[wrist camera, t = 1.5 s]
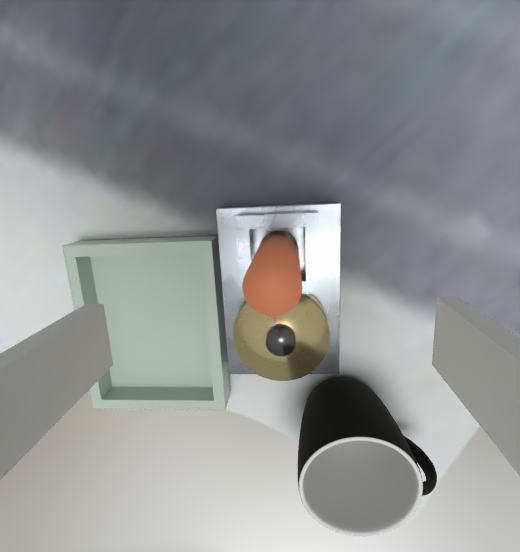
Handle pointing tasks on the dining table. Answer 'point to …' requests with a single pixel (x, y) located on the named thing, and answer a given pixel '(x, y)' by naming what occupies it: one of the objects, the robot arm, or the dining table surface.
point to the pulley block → (313, 302)
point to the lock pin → (274, 275)
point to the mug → (358, 462)
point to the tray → (156, 320)
